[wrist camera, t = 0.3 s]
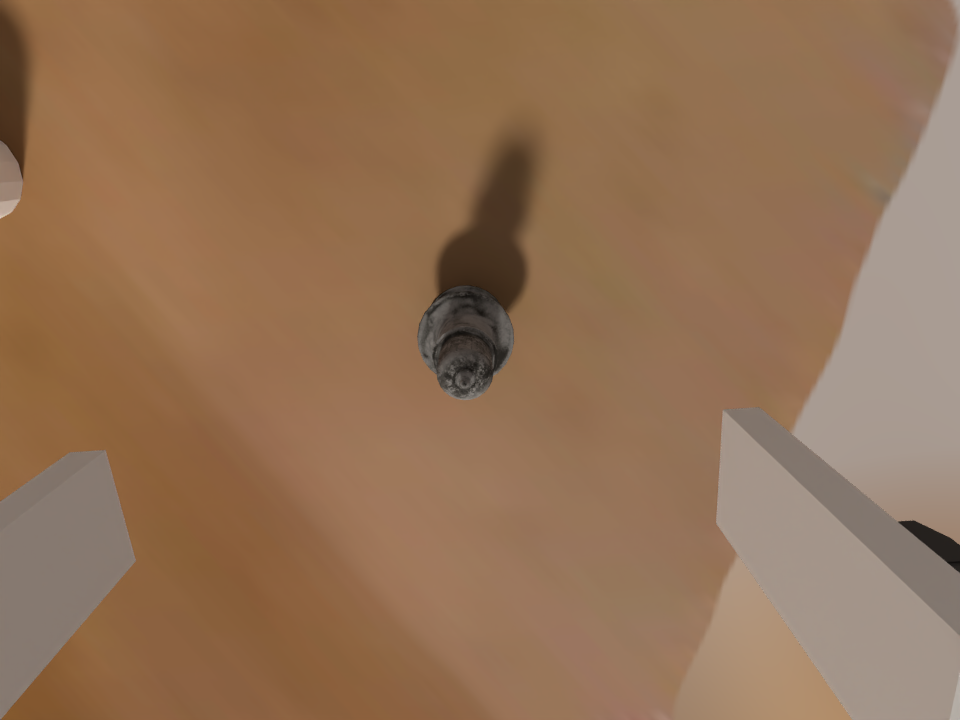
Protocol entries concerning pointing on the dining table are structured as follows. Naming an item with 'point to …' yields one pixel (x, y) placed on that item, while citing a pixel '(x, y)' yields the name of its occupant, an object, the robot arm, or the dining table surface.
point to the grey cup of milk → (9, 181)
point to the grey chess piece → (465, 340)
